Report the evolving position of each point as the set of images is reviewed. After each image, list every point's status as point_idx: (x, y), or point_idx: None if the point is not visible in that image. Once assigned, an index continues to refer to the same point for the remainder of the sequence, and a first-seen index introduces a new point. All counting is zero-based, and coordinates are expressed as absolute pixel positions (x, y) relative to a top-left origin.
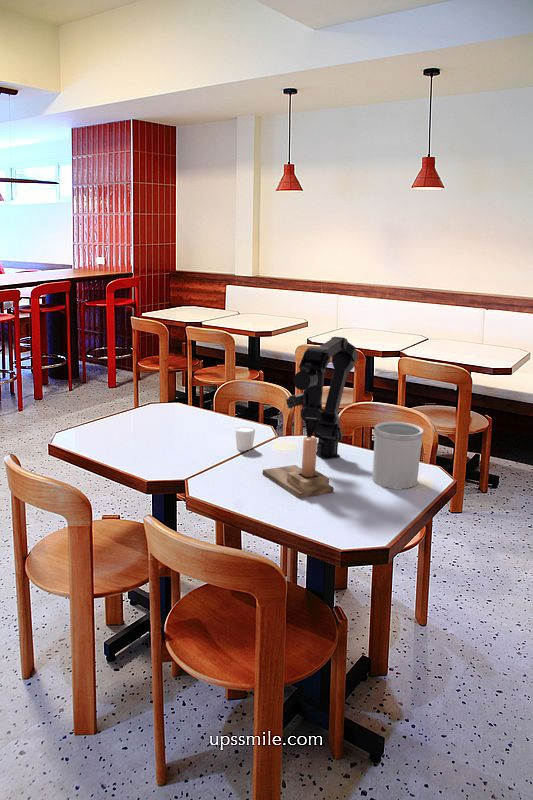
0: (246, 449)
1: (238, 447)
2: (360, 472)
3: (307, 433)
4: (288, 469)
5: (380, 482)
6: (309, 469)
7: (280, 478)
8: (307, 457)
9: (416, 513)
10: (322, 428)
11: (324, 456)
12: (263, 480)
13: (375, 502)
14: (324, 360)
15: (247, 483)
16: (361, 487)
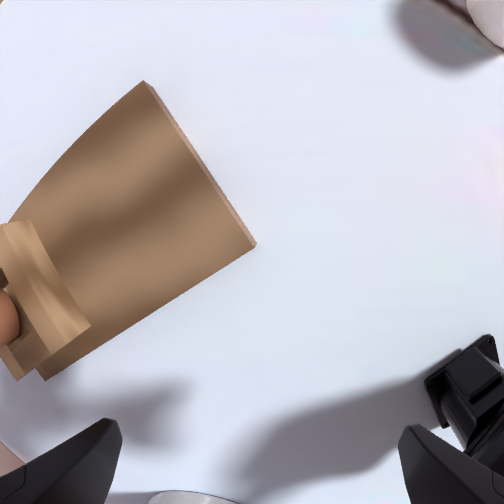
0: (474, 16)
1: None
2: (267, 480)
3: (72, 443)
4: (168, 211)
5: (155, 499)
6: None
7: (53, 186)
8: None
9: None
10: (497, 465)
11: (439, 380)
12: (85, 111)
13: (50, 444)
14: None
15: (58, 66)
16: (125, 454)
